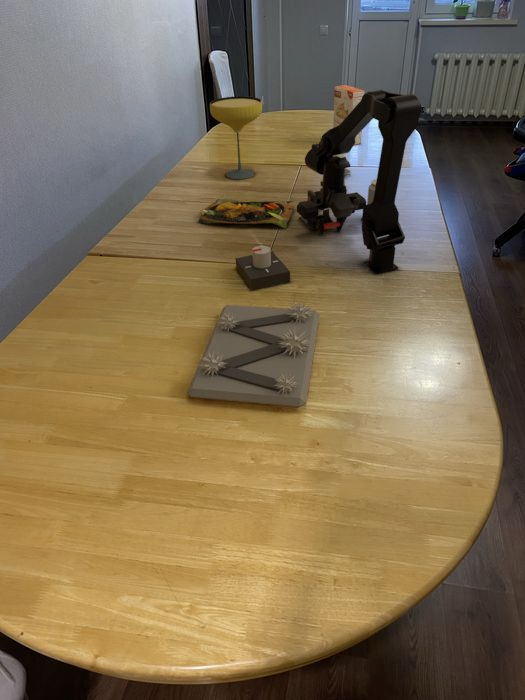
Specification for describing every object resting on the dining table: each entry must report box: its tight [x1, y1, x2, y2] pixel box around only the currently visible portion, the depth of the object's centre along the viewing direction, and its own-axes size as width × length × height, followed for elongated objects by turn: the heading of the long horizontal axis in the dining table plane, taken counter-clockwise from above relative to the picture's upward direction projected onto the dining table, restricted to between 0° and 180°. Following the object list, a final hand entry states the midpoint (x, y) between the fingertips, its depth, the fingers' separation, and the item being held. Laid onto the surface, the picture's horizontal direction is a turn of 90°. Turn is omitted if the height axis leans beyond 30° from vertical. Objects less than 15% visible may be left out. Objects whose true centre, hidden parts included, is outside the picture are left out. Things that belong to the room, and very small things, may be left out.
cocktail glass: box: [209, 95, 263, 181], centre depth 185 cm, size 18×18×25 cm
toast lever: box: [313, 190, 340, 230], centre depth 147 cm, size 12×5×2 cm
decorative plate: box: [186, 300, 320, 408], centre depth 101 cm, size 30×22×7 cm
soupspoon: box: [344, 168, 352, 193], centre depth 181 cm, size 22×3×7 cm
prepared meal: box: [198, 198, 297, 230], centre depth 159 cm, size 28×4×18 cm
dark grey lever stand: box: [298, 187, 335, 232], centre depth 151 cm, size 10×8×10 cm
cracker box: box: [332, 84, 365, 146], centre depth 216 cm, size 14×6×21 cm, turn 25°
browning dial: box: [252, 245, 272, 269], centre depth 127 cm, size 4×4×4 cm
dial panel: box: [235, 250, 291, 291], centre depth 129 cm, size 12×10×3 cm
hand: (329, 233), depth 148 cm, fingers closed on toast lever, 5 cm apart
